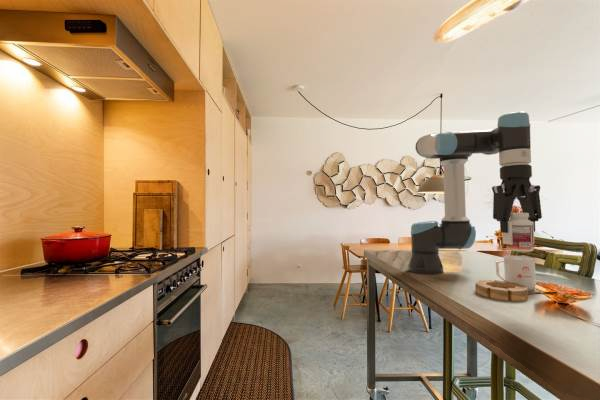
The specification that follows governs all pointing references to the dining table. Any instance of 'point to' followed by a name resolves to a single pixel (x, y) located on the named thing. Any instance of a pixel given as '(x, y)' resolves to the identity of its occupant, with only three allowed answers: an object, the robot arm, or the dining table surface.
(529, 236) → the pill bottle
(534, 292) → the lace
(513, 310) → the dining table surface
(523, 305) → the dining table surface
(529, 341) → the dining table surface
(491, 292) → the wooden ring
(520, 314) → the dining table surface
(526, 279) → the mug
